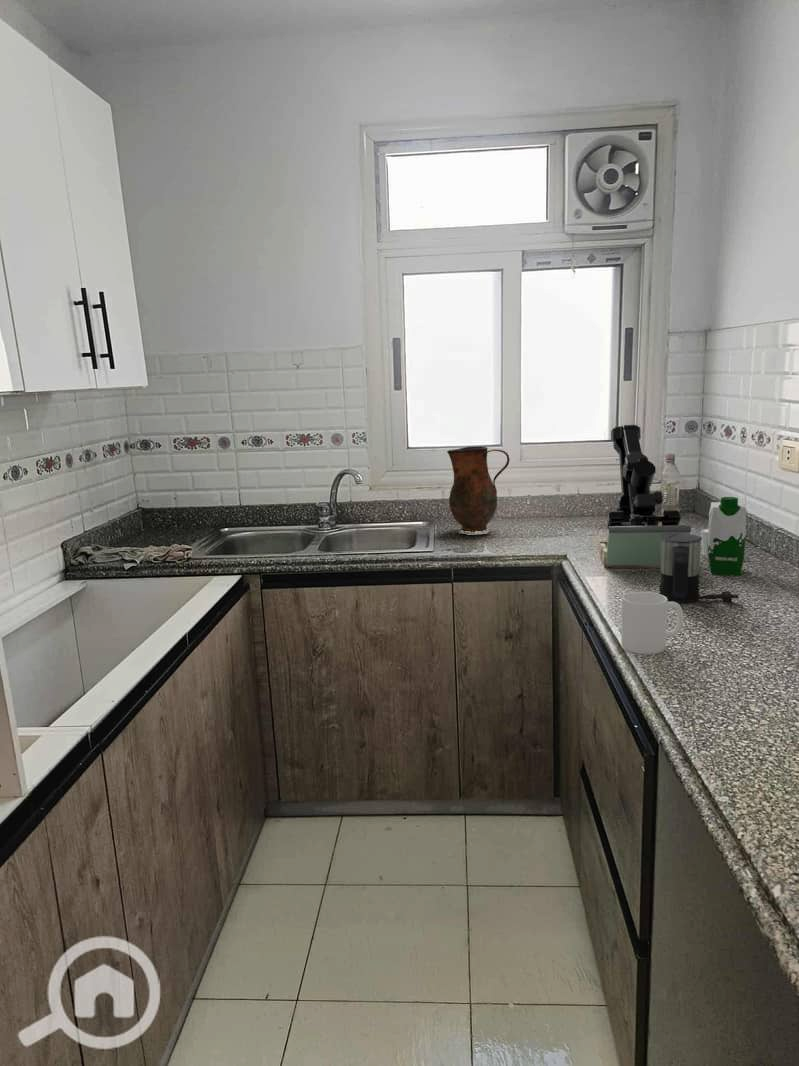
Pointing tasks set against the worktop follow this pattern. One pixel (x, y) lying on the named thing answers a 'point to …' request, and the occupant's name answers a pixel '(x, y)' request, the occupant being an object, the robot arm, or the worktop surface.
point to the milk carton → (726, 536)
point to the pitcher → (473, 488)
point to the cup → (647, 622)
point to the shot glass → (704, 541)
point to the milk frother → (683, 569)
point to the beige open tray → (603, 558)
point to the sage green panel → (638, 543)
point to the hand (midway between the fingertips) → (646, 546)
